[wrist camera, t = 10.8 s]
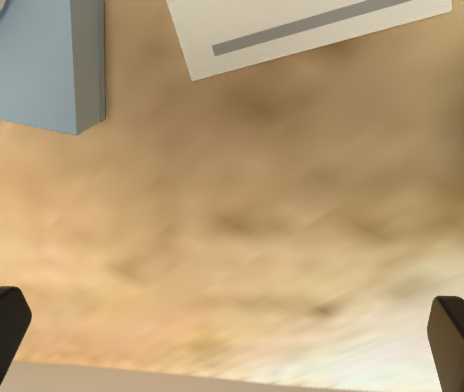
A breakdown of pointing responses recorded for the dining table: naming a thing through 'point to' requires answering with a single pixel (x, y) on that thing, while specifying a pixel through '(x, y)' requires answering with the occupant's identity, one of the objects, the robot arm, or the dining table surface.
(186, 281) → the dining table surface
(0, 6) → the can
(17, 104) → the base brick
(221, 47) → the page
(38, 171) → the dining table surface
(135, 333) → the dining table surface
